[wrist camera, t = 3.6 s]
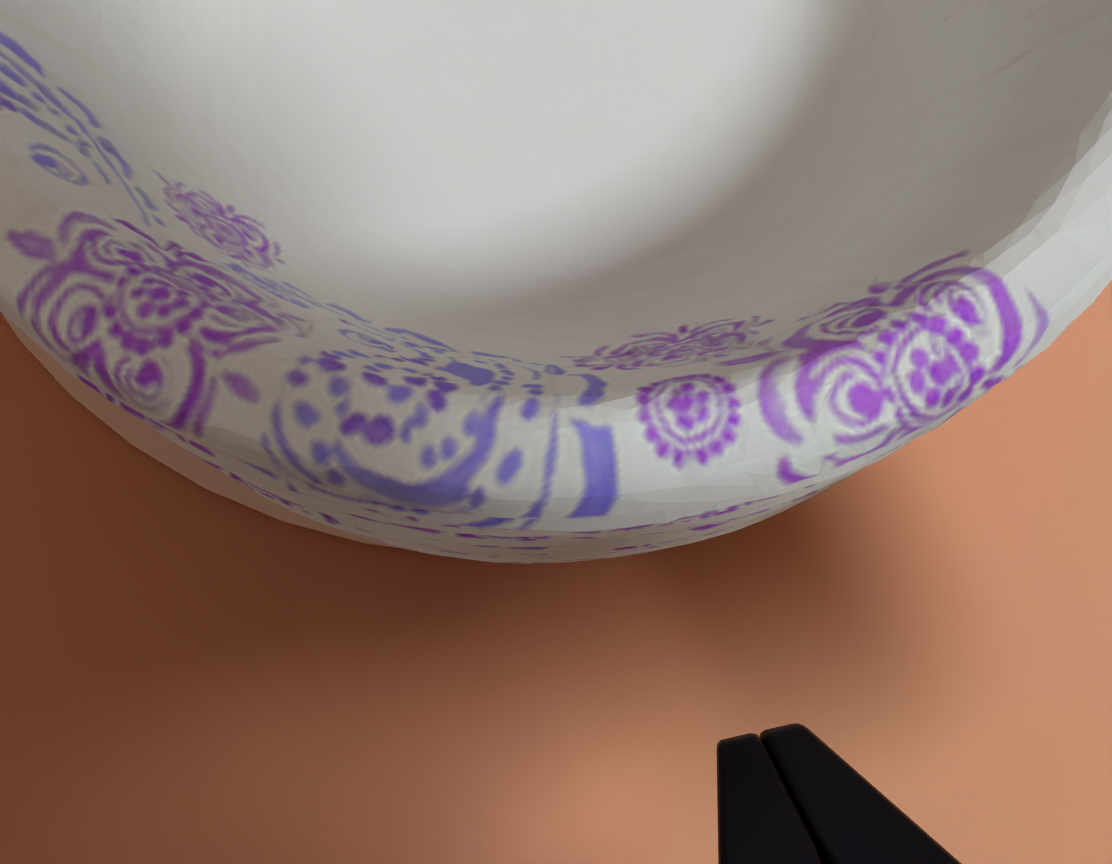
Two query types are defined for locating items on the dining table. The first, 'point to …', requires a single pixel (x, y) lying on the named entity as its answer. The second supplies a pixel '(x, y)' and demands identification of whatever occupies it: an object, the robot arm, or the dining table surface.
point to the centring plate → (170, 447)
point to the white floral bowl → (550, 243)
